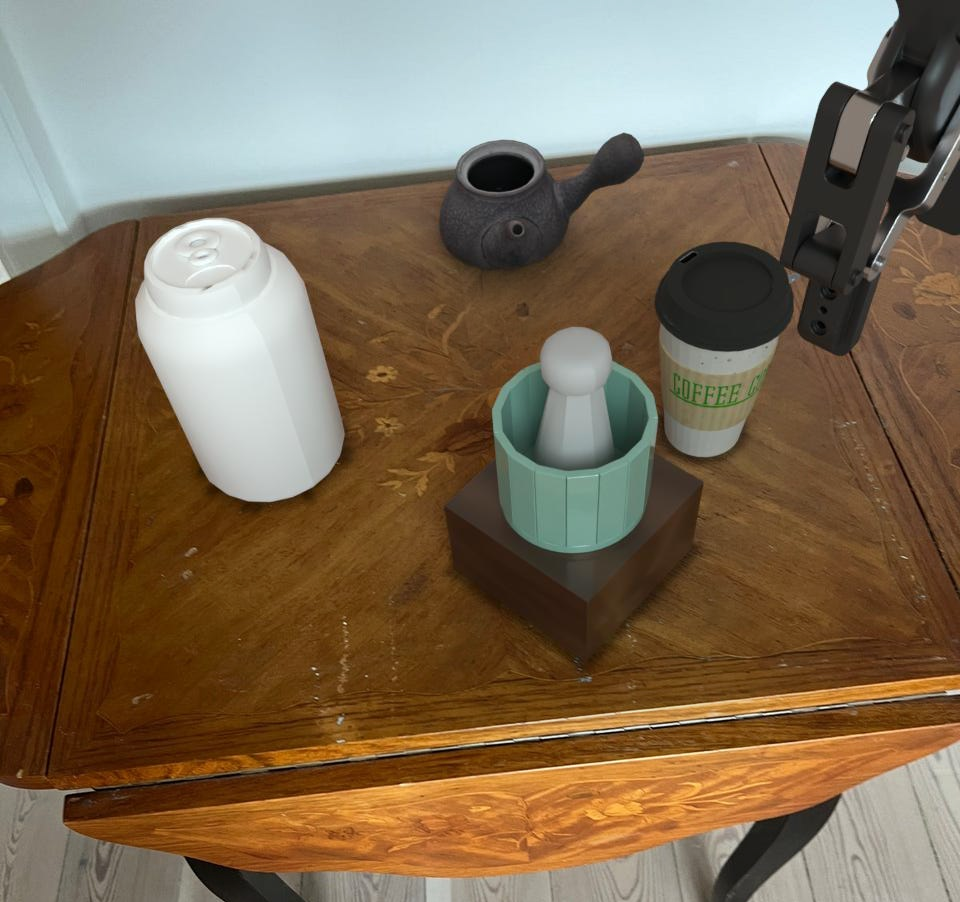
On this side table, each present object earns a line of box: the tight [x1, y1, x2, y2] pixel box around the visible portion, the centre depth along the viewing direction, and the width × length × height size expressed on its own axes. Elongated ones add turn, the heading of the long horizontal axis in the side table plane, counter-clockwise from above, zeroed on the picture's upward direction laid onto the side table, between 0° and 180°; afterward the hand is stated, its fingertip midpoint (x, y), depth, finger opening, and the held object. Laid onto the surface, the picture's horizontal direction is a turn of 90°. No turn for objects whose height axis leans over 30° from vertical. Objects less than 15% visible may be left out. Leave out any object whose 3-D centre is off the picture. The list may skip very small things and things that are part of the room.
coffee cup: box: [653, 241, 795, 458], centre depth 77 cm, size 10×10×15 cm
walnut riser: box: [443, 452, 705, 663], centre depth 74 cm, size 13×13×8 cm
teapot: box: [438, 132, 645, 271], centre depth 92 cm, size 19×15×10 cm
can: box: [134, 217, 346, 503], centre depth 77 cm, size 12×12×20 cm
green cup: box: [491, 360, 659, 553], centre depth 67 cm, size 10×10×8 cm
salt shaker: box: [531, 326, 616, 471], centre depth 64 cm, size 6×6×13 cm
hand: (885, 280), depth 39 cm, fingers open, 8 cm apart
